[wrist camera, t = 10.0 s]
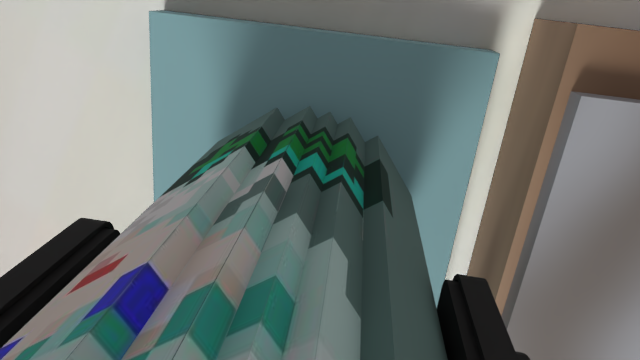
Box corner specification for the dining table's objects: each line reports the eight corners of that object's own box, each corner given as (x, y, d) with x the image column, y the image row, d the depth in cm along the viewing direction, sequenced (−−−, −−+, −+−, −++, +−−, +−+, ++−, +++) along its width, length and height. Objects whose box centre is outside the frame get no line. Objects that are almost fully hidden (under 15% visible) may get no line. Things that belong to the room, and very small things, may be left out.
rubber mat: (491, 50, 14) (499, 53, 13) (426, 323, 18) (429, 341, 17) (163, 10, 14) (148, 11, 13) (167, 283, 18) (156, 298, 17)
